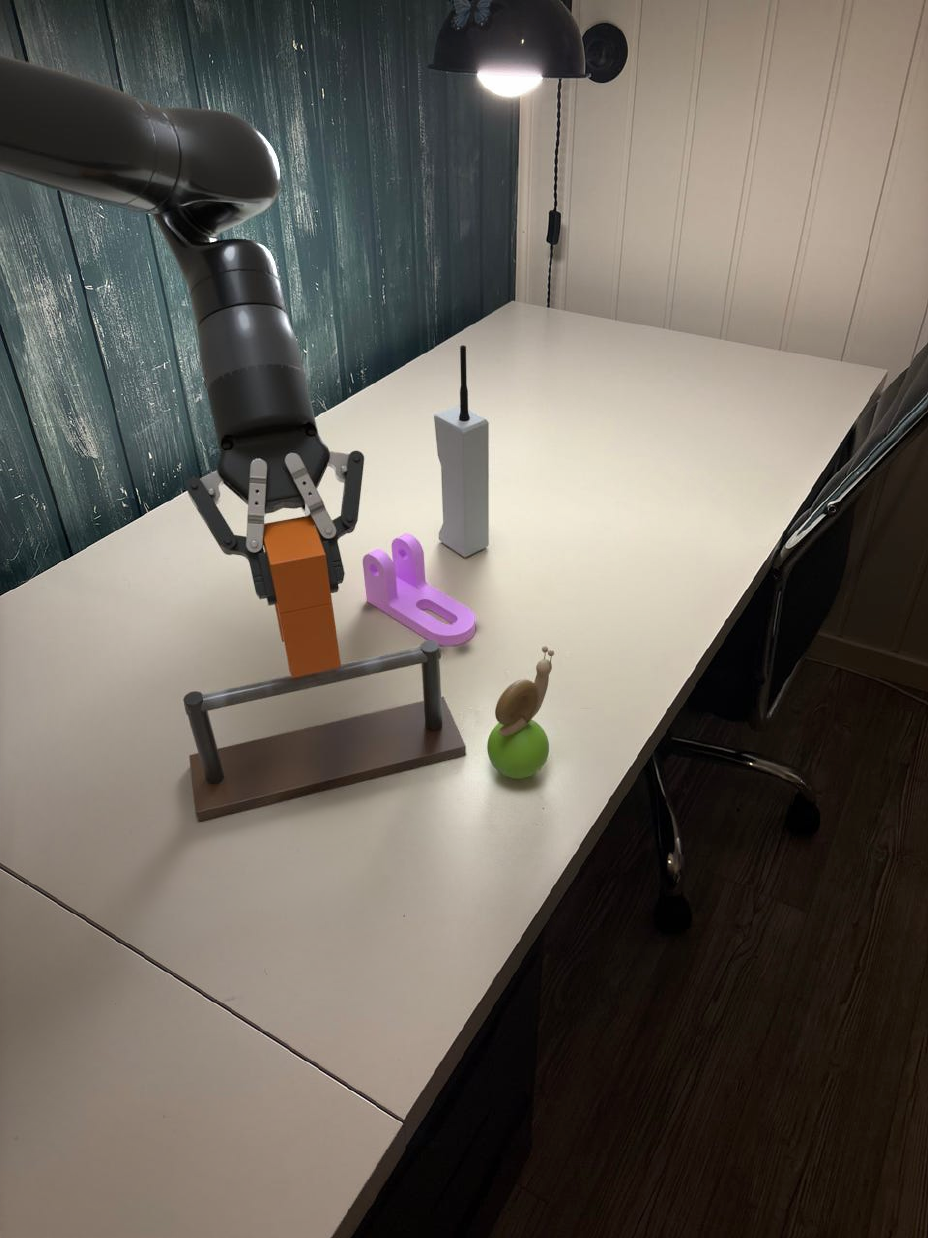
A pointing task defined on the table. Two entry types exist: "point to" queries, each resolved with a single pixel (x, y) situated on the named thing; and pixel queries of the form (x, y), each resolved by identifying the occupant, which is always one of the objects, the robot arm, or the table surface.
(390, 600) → the bracket
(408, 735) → the rail stand
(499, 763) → the snail figurine
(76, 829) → the table surface
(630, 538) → the table surface
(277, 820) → the table surface
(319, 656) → the orange lidded gift box
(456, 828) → the table surface
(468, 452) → the vintage mobile phone
